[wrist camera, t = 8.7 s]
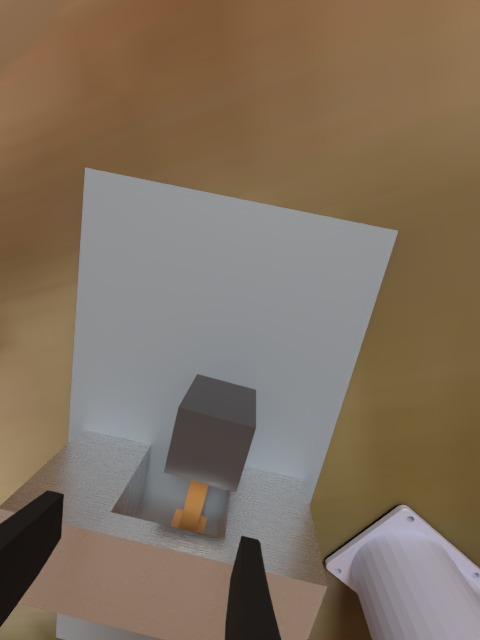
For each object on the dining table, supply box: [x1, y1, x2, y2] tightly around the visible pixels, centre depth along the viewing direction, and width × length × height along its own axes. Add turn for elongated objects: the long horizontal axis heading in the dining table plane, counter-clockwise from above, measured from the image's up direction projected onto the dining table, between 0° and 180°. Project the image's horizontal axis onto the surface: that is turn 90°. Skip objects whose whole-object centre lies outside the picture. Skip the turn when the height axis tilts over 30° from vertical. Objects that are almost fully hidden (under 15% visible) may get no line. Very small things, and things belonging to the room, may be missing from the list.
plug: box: [164, 374, 256, 534], centre depth 16 cm, size 13×4×4 cm, turn 166°
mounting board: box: [56, 168, 398, 640], centre depth 18 cm, size 39×18×1 cm, turn 168°
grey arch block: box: [0, 429, 327, 640], centre depth 15 cm, size 6×16×6 cm, turn 78°
